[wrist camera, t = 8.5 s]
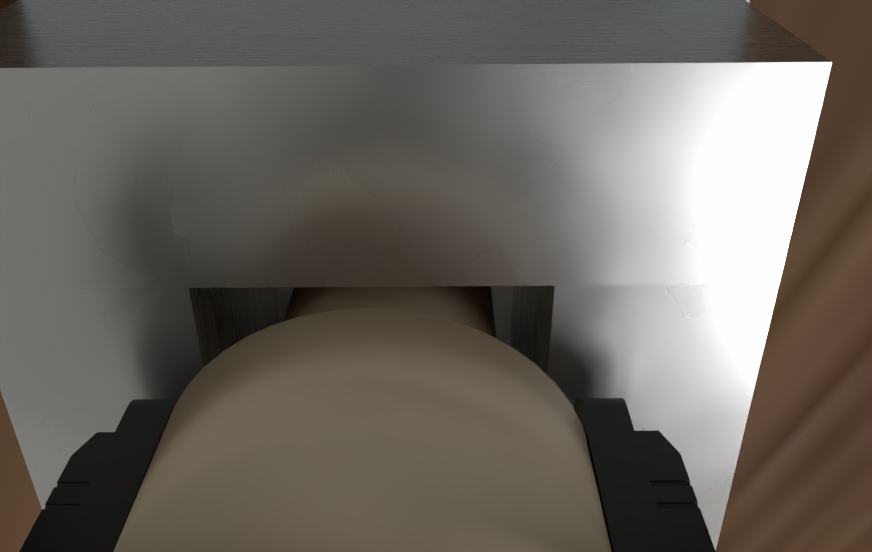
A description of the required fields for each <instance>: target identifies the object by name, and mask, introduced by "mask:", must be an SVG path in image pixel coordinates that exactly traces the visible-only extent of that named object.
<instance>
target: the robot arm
mask: <svg viewBox="0 0 872 552" xmlns="http://www.w3.org/2000/svg"><path fill="white" fill-rule="evenodd" d="M178 400H179V399H135V400H132V401H131V402H130V403H129V405H128V406H127V408H126V410H125V412H124V414H123V416H122V418H121V420H120V423H119V425H118V427H117V429H116V431H115V432H97V433H96V434H95V435H93V436H92V437H91V438H90V439H89V440H88V441H87V442H86V443H85V444H83V445H82V446H81V447H80V448H79V449H78V450H77V451H76V452H75V453H73V454H72V455H71V457H70V459H69V461H68V463H67V464H66V466H65V468H64V470H63V472H62V474H61V475H60V477H59V479H58V481H57V487H54V488H53V490H52V492H51V494H50V496H49V498H48V500H47V501H46V503H45V509H42V511H41V513H40V514H39V516H38V518H37V520H36V522H35V524H34V526H33V527H32V529H31V531H30V533H29V535H28V537H27V539H26V540H25V542H24V544H23V546H22V548H21V550H20V552H114V549H115V547H116V544H117V542H118V540H119V537H120V535H121V532H122V530H123V528H124V525H125V523H126V520H127V518H128V516H129V513H130V511H131V509H132V506H133V504H134V501H135V499H136V497H137V494H138V492H139V489H140V487H141V485H142V482H143V480H144V478H145V475H146V473H147V470H148V468H149V466H150V463H151V461H152V459H153V456H154V454H155V451H156V449H157V447H158V444H159V442H160V439H161V437H162V435H163V432H164V430H165V428H166V425H167V423H168V420H169V418H170V416H171V413H172V411H173V408H174V406H175V404H176V403H177V401H178ZM574 410H575V412H576V414H577V416H578V418H579V420H580V421H581V423H582V426H583V429H584V432H585V435H586V439H587V443H588V448H589V452H590V457H591V461H592V466H593V470H594V474H595V479H596V483H597V488H598V492H599V497H600V501H601V505H602V510H603V514H604V519H605V523H606V528H607V532H608V536H609V541H610V545H611V550H612V552H716V551H715V548H714V546H713V543H712V540H711V537H710V535H709V532H708V529H707V526H706V523H705V521H704V518H703V515H702V512H701V510H700V508H698V501H697V498H696V496H695V493H694V490H693V487H692V486H690V479H689V476H688V473H687V471H686V468H685V465H684V462H683V460H682V457H681V454H680V453H679V452H678V451H677V450H676V448H675V447H674V446H673V445H672V444H671V443H670V442H669V441H668V440H667V439H666V438H665V437H664V436H663V435H662V434H661V432H660V431H659V430H657V431H634V428H633V424H632V421H631V418H630V414H629V411H628V408H627V405H626V402H625V400H624V399H623V398H577V399H576V400H575V404H574Z"/></svg>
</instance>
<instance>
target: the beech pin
mask: <svg viewBox="0 0 872 552" xmlns="http://www.w3.org/2000/svg"><path fill="white" fill-rule="evenodd" d="M114 552H612V550H611V545H610V541H609V536H608V532H607V528H606V523H605V519H604V514H603V510H602V505H601V501H600V497H599V492H598V488H597V483H596V479H595V474H594V470H593V466H592V461H591V457H590V452H589V448H588V443H587V439H586V435H585V432H584V429H583V426H582V423H581V421H580V420H579V418H578V416H577V414H576V412H575V410H574V408H573V407H572V405H571V403H570V402H569V400H568V399H567V398H566V396H565V395H564V394H563V392H562V391H561V390H560V388H559V387H558V386H557V385H556V383H555V382H554V381H553V380H552V379H551V378H550V377H549V376H547V375H546V374H545V373H544V372H543V371H542V370H541V369H540V368H539V367H538V366H537V365H536V364H535V363H533V362H532V361H531V360H529V359H528V358H526V357H525V356H524V355H522V354H521V353H520V352H518V351H517V350H515V349H514V348H512V347H510V346H509V345H507V344H505V343H503V342H501V341H500V340H498V339H496V331H495V321H494V312H493V302H492V293H491V286H415V287H294V289H293V292H292V296H291V299H290V303H289V306H288V310H287V314H286V317H285V321H284V322H281V323H277V324H274V325H272V326H270V327H267V328H265V329H263V330H261V331H258V332H256V333H254V334H251V335H249V336H247V337H245V338H244V339H242V340H241V341H239V342H237V343H236V344H234V345H232V346H231V347H229V348H227V349H226V350H224V351H223V352H222V353H220V354H219V355H218V356H217V357H216V358H214V359H213V360H212V361H211V362H209V363H208V364H207V365H206V366H205V367H203V369H202V370H201V371H200V372H199V373H198V374H197V375H196V376H195V378H194V379H193V380H192V381H191V382H190V383H189V384H188V385H187V387H186V388H185V390H184V392H183V393H182V395H181V396H180V398H179V400H178V401H177V403H176V404H175V406H174V408H173V411H172V413H171V416H170V418H169V420H168V423H167V425H166V428H165V430H164V432H163V435H162V437H161V439H160V442H159V444H158V447H157V449H156V451H155V454H154V456H153V459H152V461H151V463H150V466H149V468H148V470H147V473H146V475H145V478H144V480H143V482H142V485H141V487H140V489H139V492H138V494H137V497H136V499H135V501H134V504H133V506H132V509H131V511H130V513H129V516H128V518H127V520H126V523H125V525H124V528H123V530H122V532H121V535H120V537H119V540H118V542H117V544H116V547H115V549H114Z"/></svg>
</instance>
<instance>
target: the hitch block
mask: <svg viewBox="0 0 872 552" xmlns="http://www.w3.org/2000/svg"><path fill="white" fill-rule="evenodd" d="M749 1H750V0H18V1H16V2H14V3H12V4H10V5H8V6H7V7H5V8H3V9H1V10H0V390H1V393H2V396H3V399H4V402H5V405H6V408H7V410H8V413H9V416H10V419H11V422H12V425H13V428H14V430H15V433H16V436H17V439H18V442H19V445H20V448H21V450H22V453H23V456H24V459H25V462H26V465H27V468H28V470H29V473H30V476H31V479H32V482H33V485H34V488H35V490H36V493H37V496H38V499H39V502H40V505H41V508H42V509H45V503H46V501H47V500H48V498H49V496H50V494H51V492H52V490H53V488H54V487H57V481H58V479H59V477H60V475H61V474H62V472H63V470H64V468H65V466H66V464H67V463H68V461H69V459H70V457H71V455H72V454H73V453H75V452H76V451H77V450H78V449H79V448H80V447H81V446H82V445H83V444H85V443H86V442H87V441H88V440H89V439H90V438H91V437H92V436H93V435H95V434H96V433H97V432H115V431H116V429H117V427H118V425H119V423H120V420H121V418H122V416H123V414H124V412H125V410H126V408H127V406H128V405H129V403H130V402H131V401H132V400H135V399H179V398H180V396H181V395H182V393H183V392H184V390H185V388H186V387H187V385H188V384H189V383H190V382H191V381H192V380H193V379H194V378H195V376H196V375H197V374H198V373H199V372H200V371H201V370H202V369H203V367H205V366H206V365H207V364H208V363H209V362H211V361H212V360H213V359H214V358H216V357H217V356H218V355H219V354H220V353H222V352H223V351H224V350H226V349H227V348H229V347H231V346H232V345H234V344H236V343H237V342H239V341H241V340H242V339H244V338H245V337H247V336H249V335H251V334H254V333H256V332H258V331H261V330H263V329H265V328H267V327H270V326H272V325H274V324H277V323H281V322H284V321H285V317H286V314H287V310H288V306H289V303H290V299H291V296H292V292H293V289H294V287H415V286H491V293H492V302H493V312H494V321H495V331H496V339H498V340H500V341H501V342H503V343H505V344H507V345H509V346H510V347H512V348H514V349H515V350H517V351H518V352H520V353H521V354H522V355H524V356H525V357H526V358H528V359H529V360H531V361H532V362H533V363H535V364H536V365H537V366H538V367H539V368H540V369H541V370H542V371H543V372H544V373H545V374H546V375H547V376H549V377H550V378H551V379H552V380H553V381H554V382H555V383H556V385H557V386H558V387H559V388H560V390H561V391H562V392H563V394H564V395H565V396H566V398H567V399H568V400H569V402H570V403H571V405H572V407H573V408H574V404H575V400H576V399H577V398H623V399H624V400H625V402H626V405H627V408H628V411H629V414H630V418H631V421H632V424H633V428H634V431H657V430H659V431H660V432H661V434H662V435H663V436H664V437H665V438H666V439H667V440H668V441H669V442H670V443H671V444H672V445H673V446H674V447H675V448H676V450H677V451H678V452H679V453H680V454H681V457H682V460H683V462H684V465H685V468H686V471H687V473H688V476H689V479H690V486H692V487H693V490H694V493H695V496H696V498H697V501H698V508H700V510H701V512H702V515H703V518H704V521H705V523H706V526H707V529H708V532H709V535H710V537H711V540H712V543H713V546H714V548H715V551H716V547H717V543H718V539H719V534H720V530H721V526H722V522H723V518H724V513H725V509H726V505H727V501H728V497H729V492H730V488H731V484H732V480H733V476H734V472H735V467H736V463H737V459H738V455H739V451H740V446H741V442H742V438H743V434H744V430H745V425H746V421H747V417H748V413H749V409H750V405H751V400H752V396H753V392H754V388H755V384H756V379H757V375H758V371H759V367H760V363H761V358H762V354H763V350H764V346H765V342H766V338H767V333H768V329H769V325H770V321H771V317H772V312H773V308H774V304H775V300H776V296H777V291H778V287H779V283H780V279H781V275H782V270H783V266H784V262H785V258H786V254H787V250H788V245H789V241H790V237H791V233H792V229H793V224H794V220H795V216H796V212H797V208H798V203H799V199H800V195H801V191H802V187H803V183H804V178H805V174H806V170H807V166H808V162H809V157H810V153H811V149H812V145H813V141H814V136H815V132H816V128H817V124H818V120H819V115H820V111H821V107H822V103H823V99H824V95H825V90H826V86H827V82H828V78H829V74H830V69H831V65H832V61H830V60H829V59H828V58H826V57H825V56H823V55H822V54H821V53H819V52H818V51H816V50H815V49H813V48H812V47H811V46H809V45H808V44H806V43H805V42H804V41H802V40H801V39H799V38H798V37H797V36H795V35H794V34H792V33H791V32H790V31H788V30H787V29H785V28H784V27H783V26H781V25H780V24H778V23H777V22H775V21H774V20H773V19H771V18H770V17H768V16H767V15H766V14H764V13H763V12H761V11H760V10H759V9H757V8H756V7H754V6H753V5H752V4H750V3H749Z"/></svg>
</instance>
